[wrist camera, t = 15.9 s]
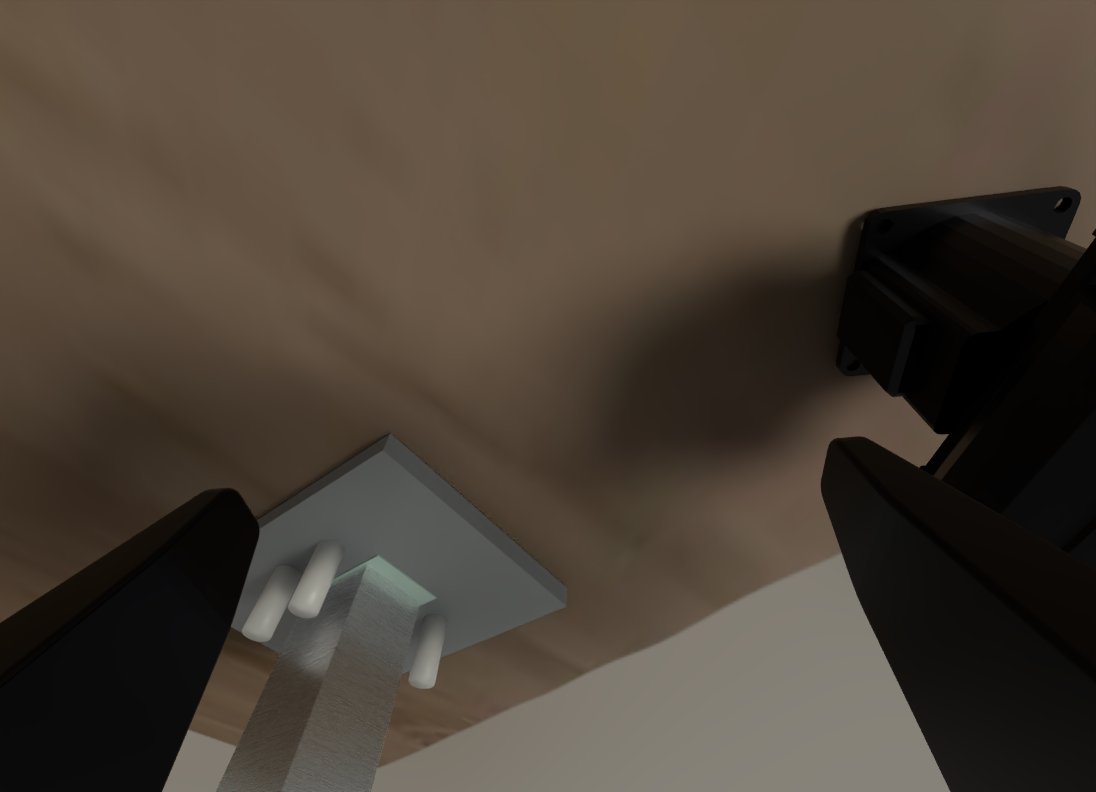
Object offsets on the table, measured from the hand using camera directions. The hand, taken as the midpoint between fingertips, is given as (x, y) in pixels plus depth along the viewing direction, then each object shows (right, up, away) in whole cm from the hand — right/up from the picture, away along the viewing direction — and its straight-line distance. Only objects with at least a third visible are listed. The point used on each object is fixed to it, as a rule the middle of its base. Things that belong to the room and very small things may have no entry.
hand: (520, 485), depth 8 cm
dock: (-10, -9, +23) cm, 26 cm away
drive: (-10, -10, +22) cm, 26 cm away
